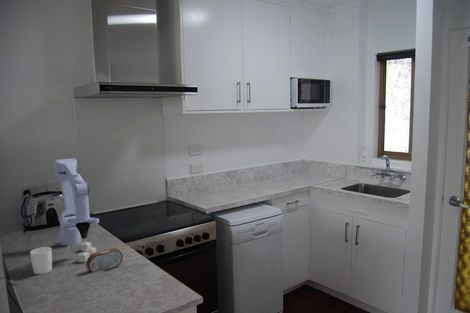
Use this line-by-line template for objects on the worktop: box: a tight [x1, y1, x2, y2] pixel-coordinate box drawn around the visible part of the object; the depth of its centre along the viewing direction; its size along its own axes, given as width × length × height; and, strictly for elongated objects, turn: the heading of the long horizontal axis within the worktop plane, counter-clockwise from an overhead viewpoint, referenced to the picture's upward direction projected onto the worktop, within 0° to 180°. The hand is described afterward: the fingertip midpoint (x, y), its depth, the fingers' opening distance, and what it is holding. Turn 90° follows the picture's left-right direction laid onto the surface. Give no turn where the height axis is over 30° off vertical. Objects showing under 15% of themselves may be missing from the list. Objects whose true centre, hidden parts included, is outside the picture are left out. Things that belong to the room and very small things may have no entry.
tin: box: [85, 247, 124, 273], centre depth 152 cm, size 15×3×8 cm, turn 131°
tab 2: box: [77, 251, 89, 263], centre depth 159 cm, size 4×3×4 cm
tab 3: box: [86, 245, 98, 256], centre depth 165 cm, size 4×3×4 cm
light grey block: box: [80, 240, 92, 252], centre depth 172 cm, size 4×3×4 cm
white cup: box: [29, 246, 53, 275], centre depth 150 cm, size 8×8×10 cm
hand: (84, 238), depth 165 cm, fingers closed
